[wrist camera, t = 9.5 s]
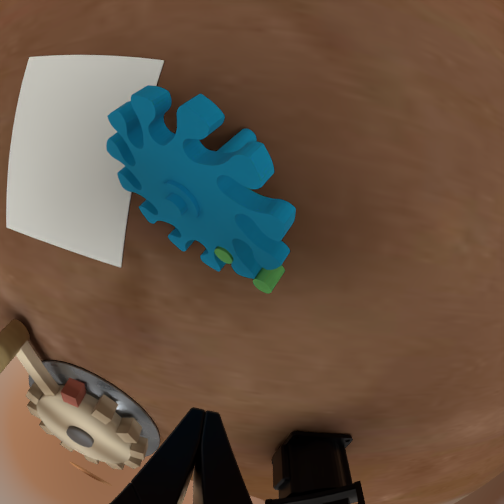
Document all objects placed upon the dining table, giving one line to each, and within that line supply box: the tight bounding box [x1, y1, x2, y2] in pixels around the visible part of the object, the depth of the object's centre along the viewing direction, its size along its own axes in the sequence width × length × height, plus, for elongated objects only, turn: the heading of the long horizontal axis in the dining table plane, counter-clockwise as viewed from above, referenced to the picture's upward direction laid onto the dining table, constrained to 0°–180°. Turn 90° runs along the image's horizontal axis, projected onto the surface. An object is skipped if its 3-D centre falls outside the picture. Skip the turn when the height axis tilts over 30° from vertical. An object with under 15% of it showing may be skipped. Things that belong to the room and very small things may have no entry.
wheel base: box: [29, 360, 160, 457], centre depth 25 cm, size 16×16×1 cm
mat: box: [6, 55, 164, 267], centre depth 16 cm, size 11×13×1 cm
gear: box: [106, 85, 296, 293], centre depth 14 cm, size 11×6×10 cm
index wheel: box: [0, 319, 148, 469], centre depth 20 cm, size 14×18×7 cm
